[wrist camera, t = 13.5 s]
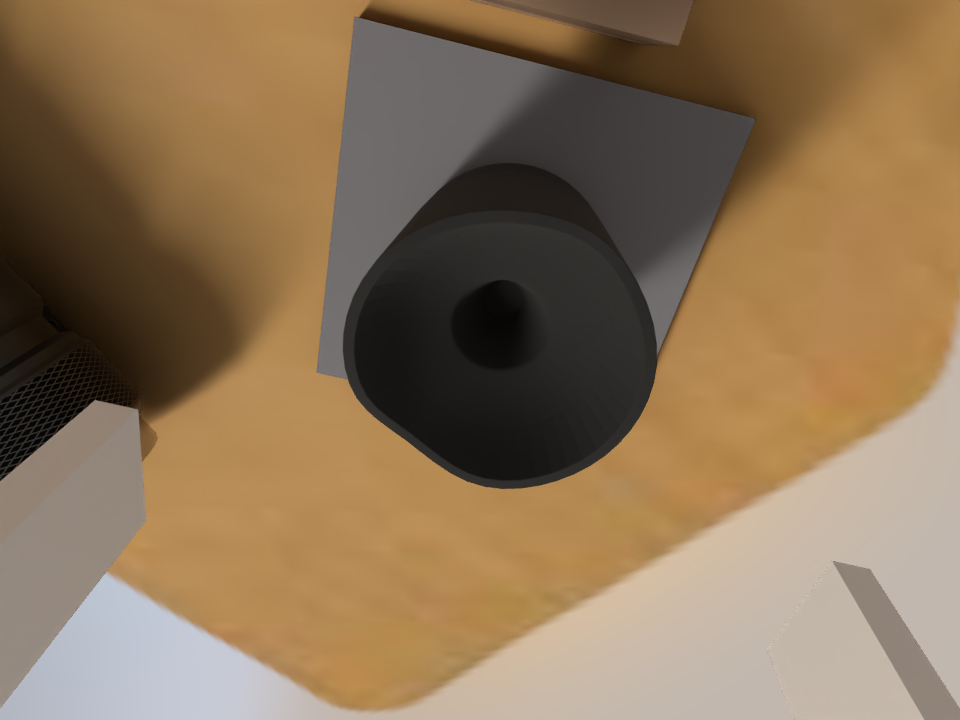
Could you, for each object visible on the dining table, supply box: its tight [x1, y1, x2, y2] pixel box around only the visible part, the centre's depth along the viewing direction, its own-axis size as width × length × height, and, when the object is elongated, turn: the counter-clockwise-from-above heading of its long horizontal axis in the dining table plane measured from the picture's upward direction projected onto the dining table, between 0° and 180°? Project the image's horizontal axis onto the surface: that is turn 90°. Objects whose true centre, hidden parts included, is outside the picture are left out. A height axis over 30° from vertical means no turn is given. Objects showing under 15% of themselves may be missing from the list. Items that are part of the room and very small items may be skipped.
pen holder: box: [343, 163, 657, 489], centre depth 22 cm, size 9×9×10 cm
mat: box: [317, 17, 756, 441], centre depth 27 cm, size 16×16×1 cm
